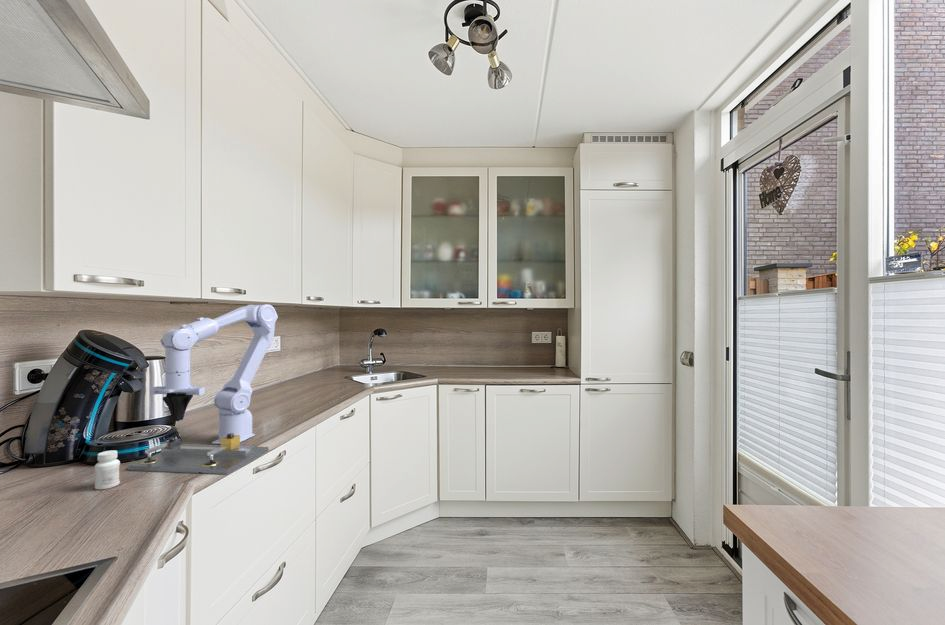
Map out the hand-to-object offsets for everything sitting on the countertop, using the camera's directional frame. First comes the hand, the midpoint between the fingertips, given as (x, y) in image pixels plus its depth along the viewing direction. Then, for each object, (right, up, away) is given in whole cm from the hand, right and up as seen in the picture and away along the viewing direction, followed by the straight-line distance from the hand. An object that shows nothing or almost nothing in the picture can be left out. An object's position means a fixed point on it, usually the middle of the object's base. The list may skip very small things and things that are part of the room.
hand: (178, 420), depth 115 cm
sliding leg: (+16, -8, -6) cm, 19 cm away
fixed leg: (-1, -8, -4) cm, 9 cm away
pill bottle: (-2, -10, -20) cm, 22 cm away
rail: (+9, -9, -2) cm, 13 cm away
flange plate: (+9, -10, -3) cm, 14 cm away
